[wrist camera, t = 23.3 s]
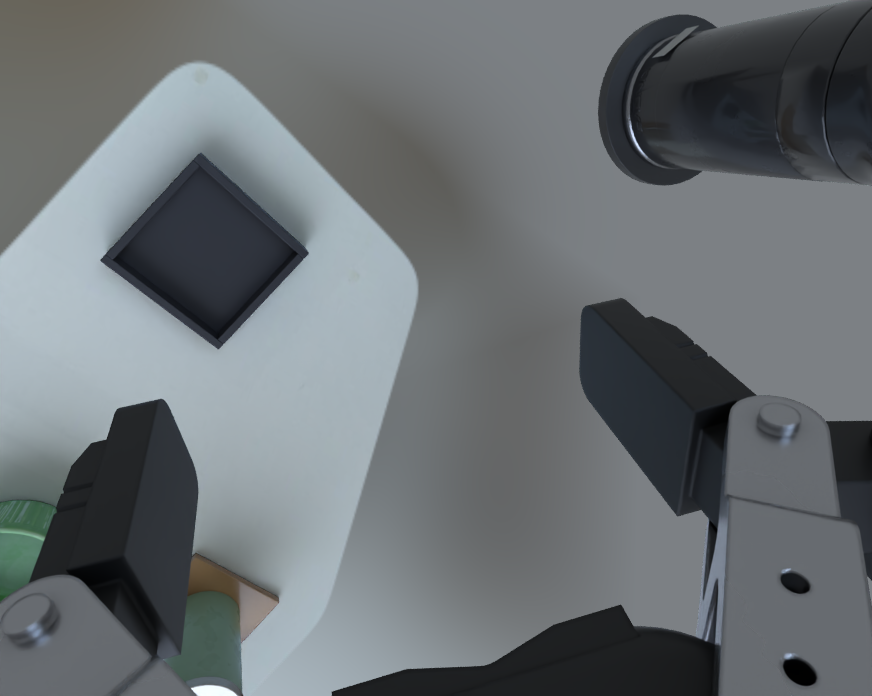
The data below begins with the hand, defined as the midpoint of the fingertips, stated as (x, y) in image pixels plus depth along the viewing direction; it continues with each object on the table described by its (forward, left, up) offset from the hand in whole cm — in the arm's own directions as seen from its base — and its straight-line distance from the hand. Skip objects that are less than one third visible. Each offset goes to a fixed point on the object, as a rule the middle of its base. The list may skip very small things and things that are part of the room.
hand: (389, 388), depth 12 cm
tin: (+7, +31, -31) cm, 45 cm away
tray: (+4, +3, -32) cm, 32 cm away
